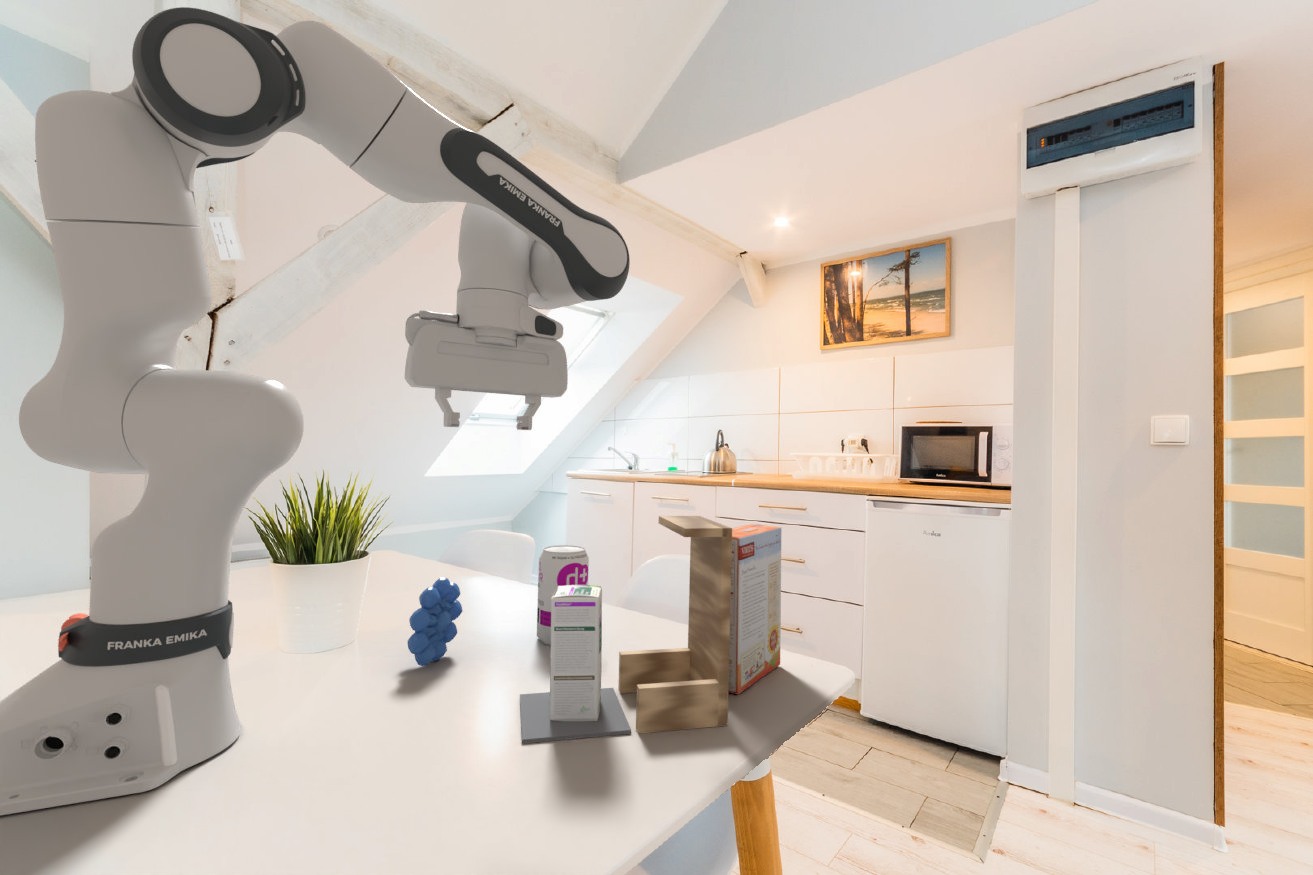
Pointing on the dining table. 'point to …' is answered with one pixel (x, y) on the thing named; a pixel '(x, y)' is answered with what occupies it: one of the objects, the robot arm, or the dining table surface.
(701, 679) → the shelf slot
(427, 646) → the grapes
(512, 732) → the dining table surface
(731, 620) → the cracker box
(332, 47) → the robot arm
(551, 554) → the supplement can
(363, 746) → the dining table surface
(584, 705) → the syrup box
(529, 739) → the mat
